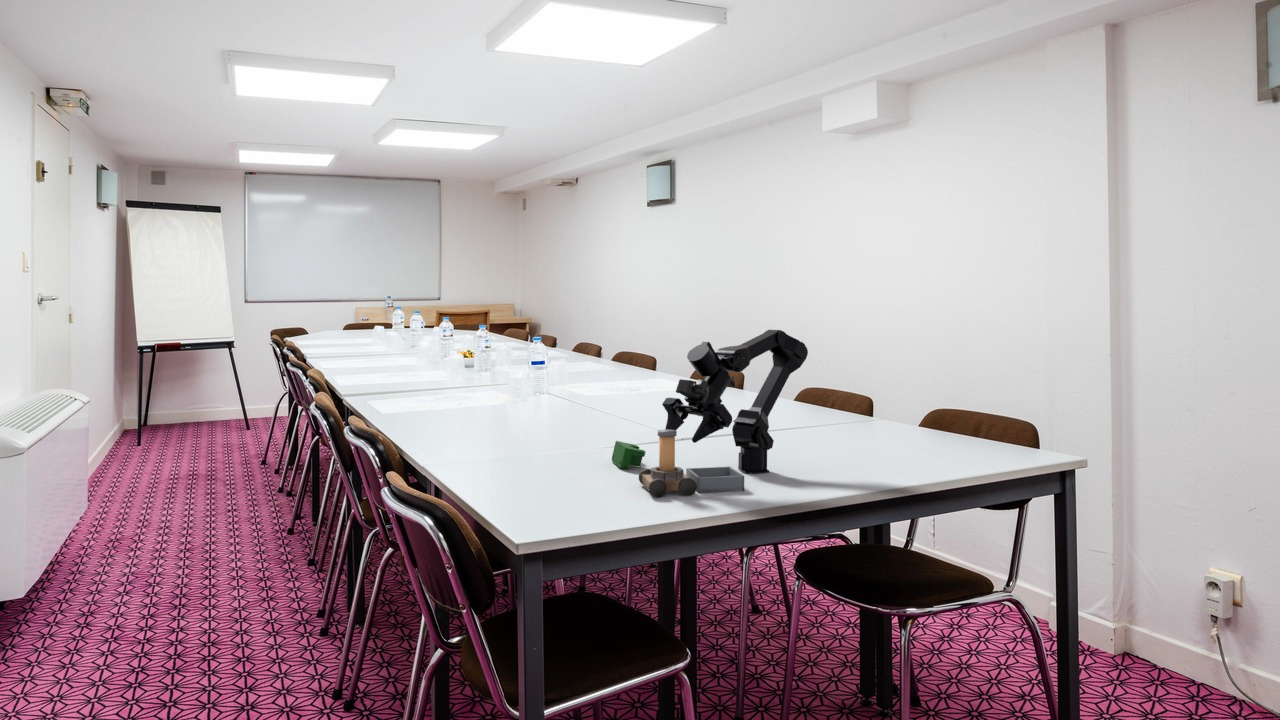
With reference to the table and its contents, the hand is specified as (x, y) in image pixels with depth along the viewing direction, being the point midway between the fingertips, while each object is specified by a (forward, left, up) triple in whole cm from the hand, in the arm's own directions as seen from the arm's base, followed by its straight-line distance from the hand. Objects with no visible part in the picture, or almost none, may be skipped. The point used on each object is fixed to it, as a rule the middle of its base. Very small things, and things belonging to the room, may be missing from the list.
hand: (679, 439), depth 194 cm
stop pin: (+3, +2, -9) cm, 10 cm away
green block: (+7, -28, -12) cm, 32 cm away
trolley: (+3, +2, -12) cm, 12 cm away
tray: (-9, +1, -12) cm, 15 cm away
